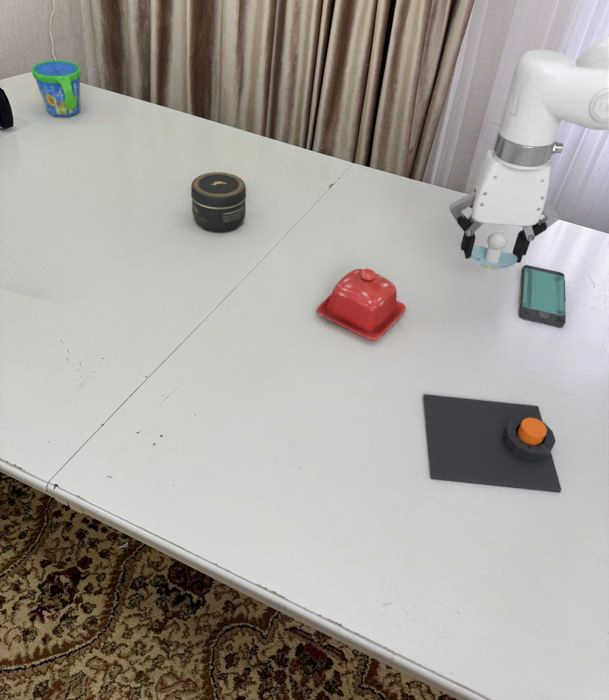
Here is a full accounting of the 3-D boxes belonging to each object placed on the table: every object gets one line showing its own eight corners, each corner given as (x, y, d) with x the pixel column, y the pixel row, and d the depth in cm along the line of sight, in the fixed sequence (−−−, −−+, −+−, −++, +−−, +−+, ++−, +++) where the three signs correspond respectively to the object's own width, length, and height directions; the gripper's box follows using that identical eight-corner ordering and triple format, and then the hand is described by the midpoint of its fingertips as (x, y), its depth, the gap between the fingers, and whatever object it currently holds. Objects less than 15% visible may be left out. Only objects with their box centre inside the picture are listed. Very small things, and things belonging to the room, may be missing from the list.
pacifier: (471, 249, 102) (464, 266, 98) (480, 215, 98) (473, 231, 94) (516, 259, 101) (511, 278, 96) (527, 225, 96) (523, 243, 92)
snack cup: (94, 122, 146) (87, 77, 139) (47, 127, 142) (37, 81, 135) (79, 97, 156) (72, 55, 149) (35, 102, 152) (26, 58, 145)
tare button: (539, 427, 81) (544, 418, 80) (544, 446, 79) (549, 437, 78) (515, 425, 81) (519, 416, 80) (519, 444, 79) (524, 435, 78)
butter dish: (408, 311, 101) (419, 268, 95) (374, 348, 94) (383, 304, 88) (348, 284, 105) (355, 241, 100) (311, 318, 98) (315, 274, 92)
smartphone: (520, 312, 101) (524, 263, 112) (518, 318, 102) (521, 268, 113) (567, 323, 100) (566, 272, 111) (564, 329, 101) (563, 278, 111)
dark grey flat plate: (537, 409, 87) (543, 397, 85) (560, 493, 76) (567, 481, 75) (422, 397, 87) (426, 384, 85) (430, 479, 77) (434, 467, 75)
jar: (182, 217, 118) (179, 180, 112) (225, 202, 123) (224, 166, 118) (213, 240, 112) (211, 203, 107) (256, 224, 118) (257, 187, 112)
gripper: (578, 142, 89) (541, 247, 101) (457, 133, 90) (434, 239, 101) (592, 165, 84) (551, 274, 95) (463, 155, 84) (438, 264, 96)
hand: (491, 255), depth 98 cm, fingers closed on pacifier, 7 cm apart
